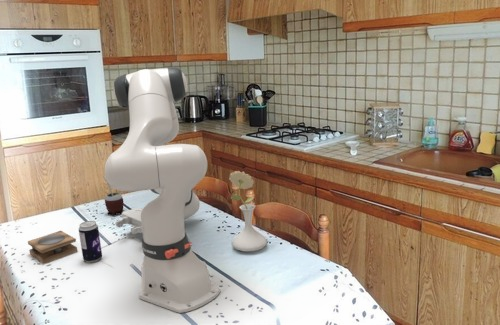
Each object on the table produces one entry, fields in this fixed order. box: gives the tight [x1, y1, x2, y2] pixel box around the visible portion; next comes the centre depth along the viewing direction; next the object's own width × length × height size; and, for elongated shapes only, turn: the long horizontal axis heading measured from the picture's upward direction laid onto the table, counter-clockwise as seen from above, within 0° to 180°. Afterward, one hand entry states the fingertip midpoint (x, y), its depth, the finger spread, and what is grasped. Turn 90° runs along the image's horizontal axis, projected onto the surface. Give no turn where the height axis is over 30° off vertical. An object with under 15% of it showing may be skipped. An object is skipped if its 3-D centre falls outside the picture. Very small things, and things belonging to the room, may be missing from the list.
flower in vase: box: [228, 170, 268, 252], centre depth 143 cm, size 13×11×25 cm
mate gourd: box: [102, 175, 124, 217], centre depth 180 cm, size 8×8×15 cm
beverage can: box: [78, 220, 103, 263], centre depth 140 cm, size 6×6×12 cm
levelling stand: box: [27, 230, 79, 265], centre depth 147 cm, size 11×11×5 cm
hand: (124, 228), depth 149 cm, fingers open, 8 cm apart
